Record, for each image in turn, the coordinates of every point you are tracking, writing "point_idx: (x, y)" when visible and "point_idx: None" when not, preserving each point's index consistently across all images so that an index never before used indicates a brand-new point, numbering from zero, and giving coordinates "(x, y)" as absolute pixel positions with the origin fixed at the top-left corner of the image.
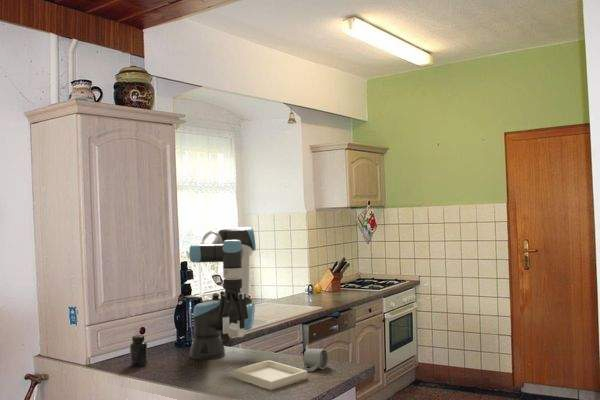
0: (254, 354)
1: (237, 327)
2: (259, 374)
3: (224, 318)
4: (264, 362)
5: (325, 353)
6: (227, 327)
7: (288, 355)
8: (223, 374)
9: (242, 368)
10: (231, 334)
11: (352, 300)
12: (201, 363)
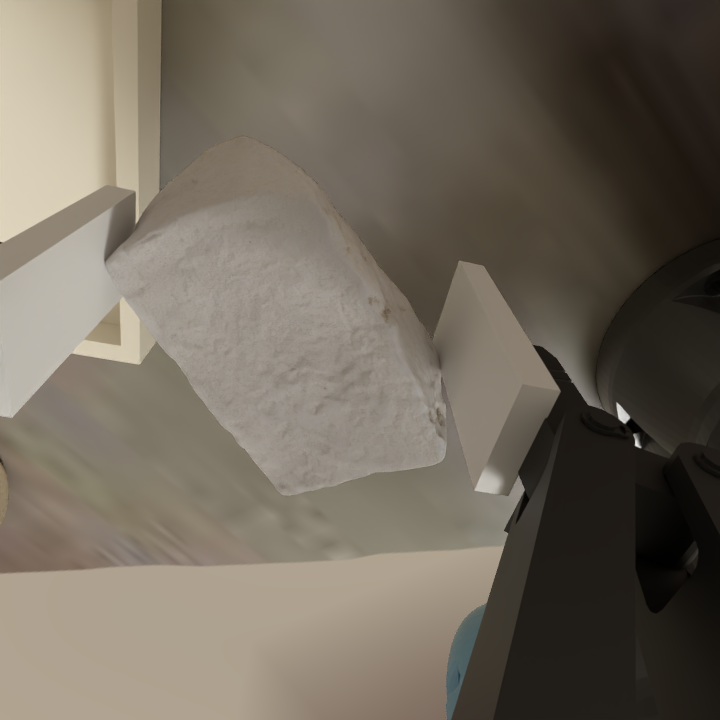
0: (434, 494)
1: (67, 233)
2: (15, 136)
3: (509, 387)
4: (120, 310)
5: None
6: (302, 204)
7: (252, 553)
8: (299, 14)
9: (114, 74)
10: (212, 164)
11: None
12: (661, 172)
